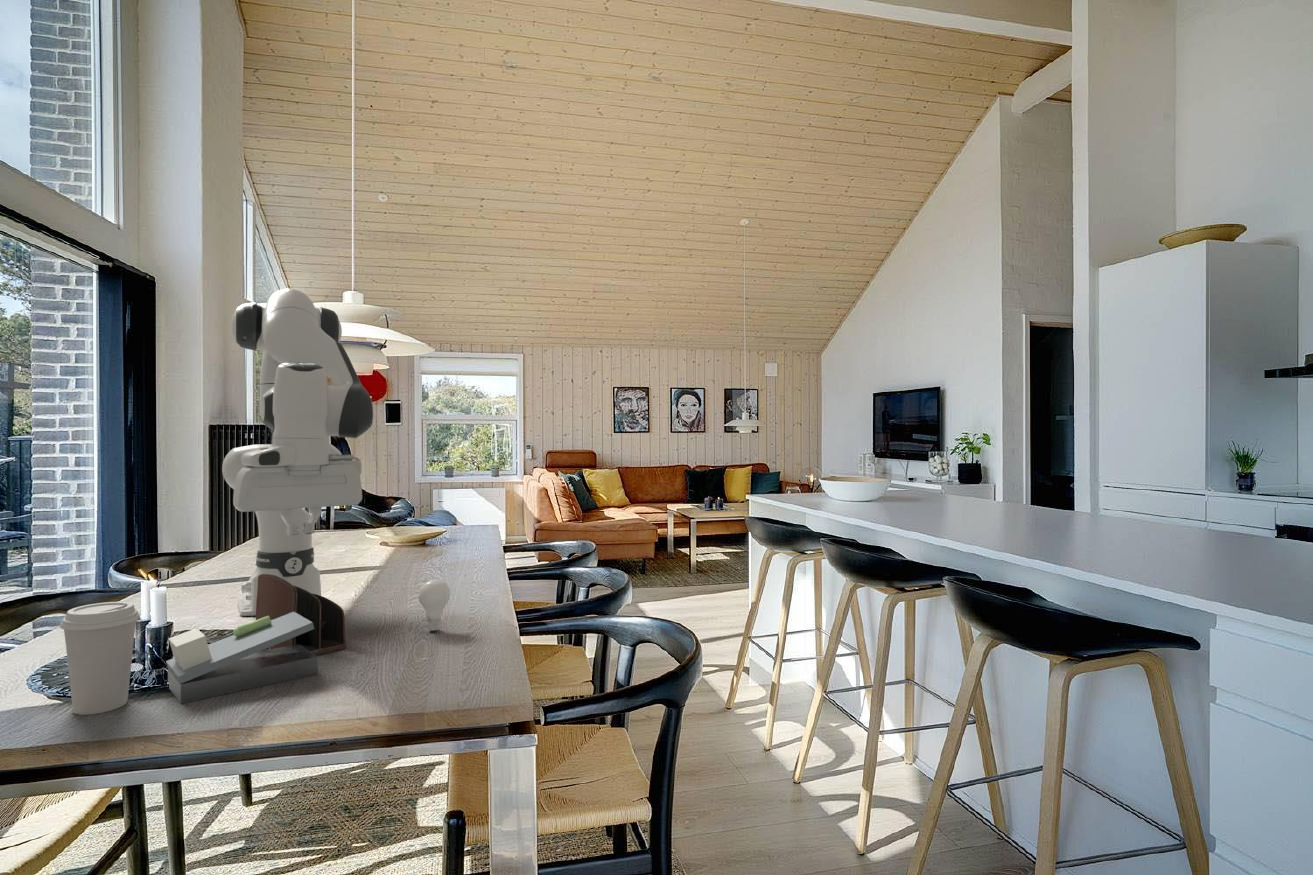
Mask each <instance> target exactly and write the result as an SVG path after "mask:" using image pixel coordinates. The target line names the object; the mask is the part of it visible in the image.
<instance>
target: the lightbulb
mask: <svg viewBox="0 0 1313 875" xmlns="http://www.w3.org/2000/svg"><path fill="white" fill-rule="evenodd" d="M450 597H451V590H450V587H449V586H448V584H447V583H446V582H445V581H443V580H441V579H437V578H434V579H430V580H427V581H425V582H424V583H423V584H422V585H421V587H420V588H419V591H418V600H419V602H420V605H421V606H422V608H423V609H424V610H425V615H426V618H427V630H428V631H429V632H432V633H435V632H436V633H437V632H438V631H439V630H441V629H442V626H441V625H442V624H441V623H442V622H441V618H442V615H443V612H444V609H445V607H446V605H447V604H448V602H449V601H450V599H451V598H450Z"/></svg>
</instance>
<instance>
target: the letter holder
mask: <svg viewBox="0 0 1313 875" xmlns="http://www.w3.org/2000/svg"><path fill="white" fill-rule="evenodd" d="M292 612H295V613H297V614H299V615H301V616H302V617H304V618H306V619H308V620H309V621H311V622H313V625H314V629H313V630H310V631H308V632H305V633H303V634H301V635H298V636H296V637H293V638H291V639H288V640H286V641H284V642H281V643H279V644H276V645H274V646H271V647H270V649H275V648H280V647H286V646H291V645H296V644H300V645H301V646H303V647H304V648H306V649H307V650H309V651H310V652H312V653H313V654H315V655H316V656H318V655H324V654H327V653H332V652H337V651H343V650H345V649H346V626H345V625H346V624H345V622H346V621H345V620H346V619H345V612H344V609H343V608H342V607H341V606H340V605H339V604H338V603H336V602H334V601H333V600H332V599H330V598H327V597H325V596H324V595H321V596H320V595H317V594H313V593H310V592H308V591H306V590H304V589H302V588H300V587H297V586H293V585H292V584H290V583H289V582H287V581H286V580H284V579H282V578H280V577H278V576H275V575H270V574H261V575H259V576H258V589H257V600H256V615H255V620H258V619H260V618H263V617H266V616H269V617H270V619H271V620H273V619H276V618H279V617H281V616H284V615H286V614H289V613H292Z"/></svg>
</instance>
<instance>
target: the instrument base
mask: <svg viewBox="0 0 1313 875" xmlns="http://www.w3.org/2000/svg"><path fill="white" fill-rule="evenodd" d="M318 669H319V657H318V655H315V654H313V653H312V652H310V651H309V650H307V649H306V648H304V647H303V646H301V645H300V644H296V645H291V646H286V647H280V648H275V649H272V648H270V649H264V650H262V651H259V652H257V653H254V654H252V655H249V656H247V657H245V658H242V659H240V660H237V661H235V662H232V663H230V664H228V665H225V666H223V667H220V668H218V669H215V670H213V671H211V672H208V673H206V674H203V675H201V676H198V677H196V678H193V679H191V680H189V681H186V682H184V683H180V682H179V681H178V680H177V678H176V677H175V676H174V675H173V674H172V672H171V671H170V670H169V669H168V668H167V684H168V683H169V688H168V689H169V691H170V692H171V693H172V694H173V696H174V697H175V698H176V700H177V701H178V703H179V704H180V705H181V704H182V705H183V704H185V703H186V704H187V703H190V702H195V701H200V700H204V699H209V698H214V697H218V696H223V695H227V694H232V693H236V692H237V693H238V692H240V691H246V690H250V689H255V688H259V687H264V686H268V685H274V684H279V683H282V682H283V683H284V682H288V681H291V680H296V679H300V678H301V679H302V678H305V677H310V676H314V675H318V674H319V670H318Z"/></svg>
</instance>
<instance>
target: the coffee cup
mask: <svg viewBox="0 0 1313 875" xmlns="http://www.w3.org/2000/svg"><path fill="white" fill-rule="evenodd" d="M140 618H141V616H140V612H139V611H138V609H136V608H135V605H134V603H133V602H131V601H130V602H128V601H109V602H108V601H107V602H106V601H105V602H97V603H91V604H86V605H80V606H77V607H73V608H71V609H69V610H67V612H66V615H65V617H64V618H62V619H61V621H60V625H59V628H60V629H62V630H63V632H64V641H65V651H66V660H67V667H68V668H67V669H68V678H69V687H70V697H71V698H70V699H71V707H72V713H73V714H75V715H80V716H81V715H82V716H85V715H86V716H88V715H98V714H103V713H107V712H108V713H109V712H111V711H115V710H118V709H120V708H122V707H123V706H125V705H127V703H128V698H129V689H130V677H131V670H132V661H133V650H134V643H135V642H134V641H135V634H136V624H137V621H138V620H139V619H140Z"/></svg>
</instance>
